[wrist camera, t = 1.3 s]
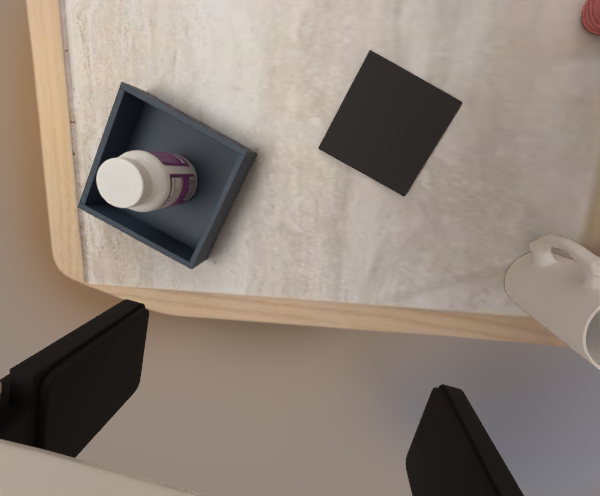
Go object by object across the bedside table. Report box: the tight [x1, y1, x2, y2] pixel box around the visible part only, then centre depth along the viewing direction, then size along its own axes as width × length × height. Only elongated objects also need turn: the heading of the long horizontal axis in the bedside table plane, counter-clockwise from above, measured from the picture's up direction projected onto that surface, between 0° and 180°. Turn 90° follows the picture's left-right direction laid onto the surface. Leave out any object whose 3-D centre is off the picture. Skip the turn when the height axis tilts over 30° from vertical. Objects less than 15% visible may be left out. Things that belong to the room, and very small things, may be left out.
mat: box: [319, 50, 462, 196], centre depth 33 cm, size 10×10×1 cm
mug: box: [504, 235, 600, 370], centre depth 29 cm, size 10×7×12 cm, turn 27°
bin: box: [78, 82, 257, 269], centre depth 34 cm, size 13×13×4 cm
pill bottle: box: [96, 150, 197, 212], centre depth 31 cm, size 5×5×10 cm
